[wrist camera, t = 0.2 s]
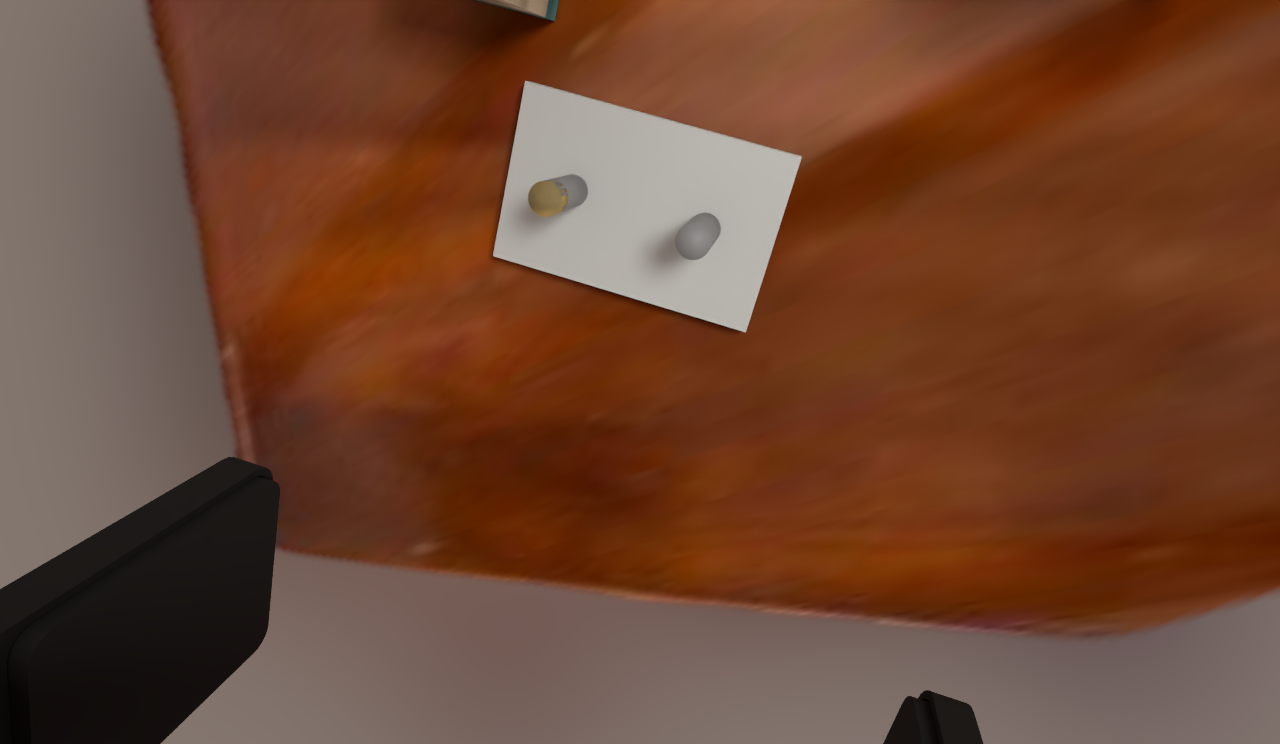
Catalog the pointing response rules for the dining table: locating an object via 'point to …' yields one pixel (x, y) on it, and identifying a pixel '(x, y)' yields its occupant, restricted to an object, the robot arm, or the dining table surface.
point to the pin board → (642, 205)
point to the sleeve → (529, 7)
